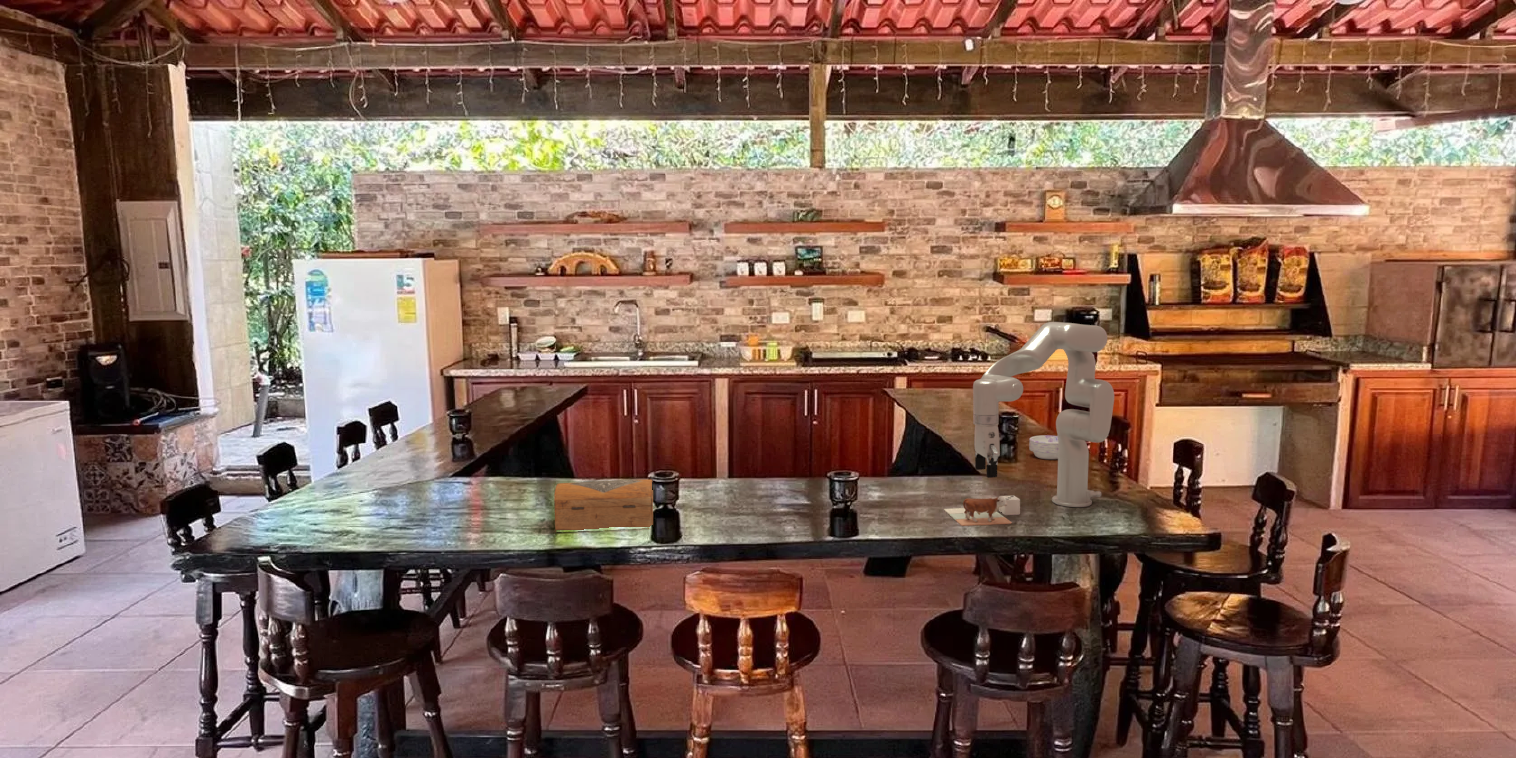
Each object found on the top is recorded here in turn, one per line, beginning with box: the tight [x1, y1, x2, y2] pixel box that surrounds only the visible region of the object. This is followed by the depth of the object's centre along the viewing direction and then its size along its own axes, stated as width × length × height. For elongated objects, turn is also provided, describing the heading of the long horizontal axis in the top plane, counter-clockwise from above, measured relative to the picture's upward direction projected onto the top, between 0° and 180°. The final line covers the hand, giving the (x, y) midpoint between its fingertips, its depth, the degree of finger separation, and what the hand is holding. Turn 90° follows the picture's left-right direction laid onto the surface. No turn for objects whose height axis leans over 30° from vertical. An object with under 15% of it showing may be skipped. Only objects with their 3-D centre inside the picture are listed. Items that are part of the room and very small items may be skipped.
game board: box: [943, 507, 1013, 527], centre depth 280 cm, size 16×18×1 cm
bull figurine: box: [962, 495, 1007, 522], centre depth 273 cm, size 4×13×8 cm, turn 83°
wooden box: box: [553, 479, 654, 531], centre depth 277 cm, size 30×16×14 cm, turn 96°
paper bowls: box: [1028, 434, 1059, 460], centre depth 362 cm, size 15×15×8 cm
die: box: [998, 495, 1021, 516], centre depth 284 cm, size 5×5×5 cm
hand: (986, 473), depth 272 cm, fingers open, 9 cm apart
